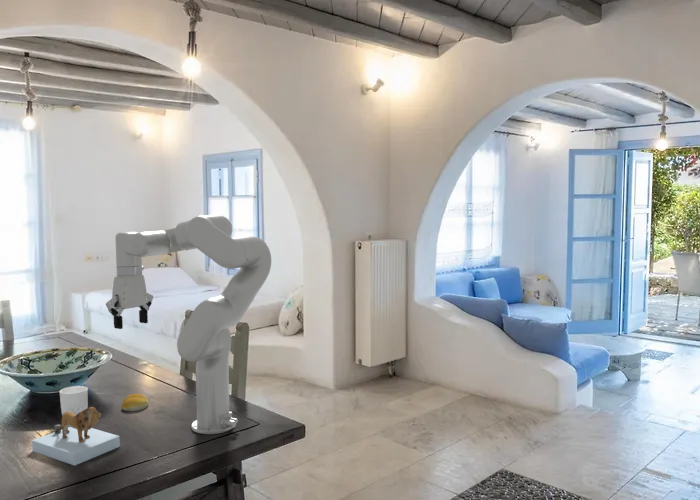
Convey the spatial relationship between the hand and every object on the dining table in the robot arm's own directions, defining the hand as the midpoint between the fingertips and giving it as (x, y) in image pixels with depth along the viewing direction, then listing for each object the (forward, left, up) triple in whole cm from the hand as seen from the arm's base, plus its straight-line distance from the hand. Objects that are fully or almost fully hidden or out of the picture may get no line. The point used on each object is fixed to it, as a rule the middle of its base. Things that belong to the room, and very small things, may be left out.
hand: (131, 325), depth 194 cm
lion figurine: (-9, +26, -26) cm, 38 cm away
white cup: (+10, +14, -28) cm, 33 cm away
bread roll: (+5, -4, -29) cm, 30 cm away
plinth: (-9, +27, -28) cm, 40 cm away
